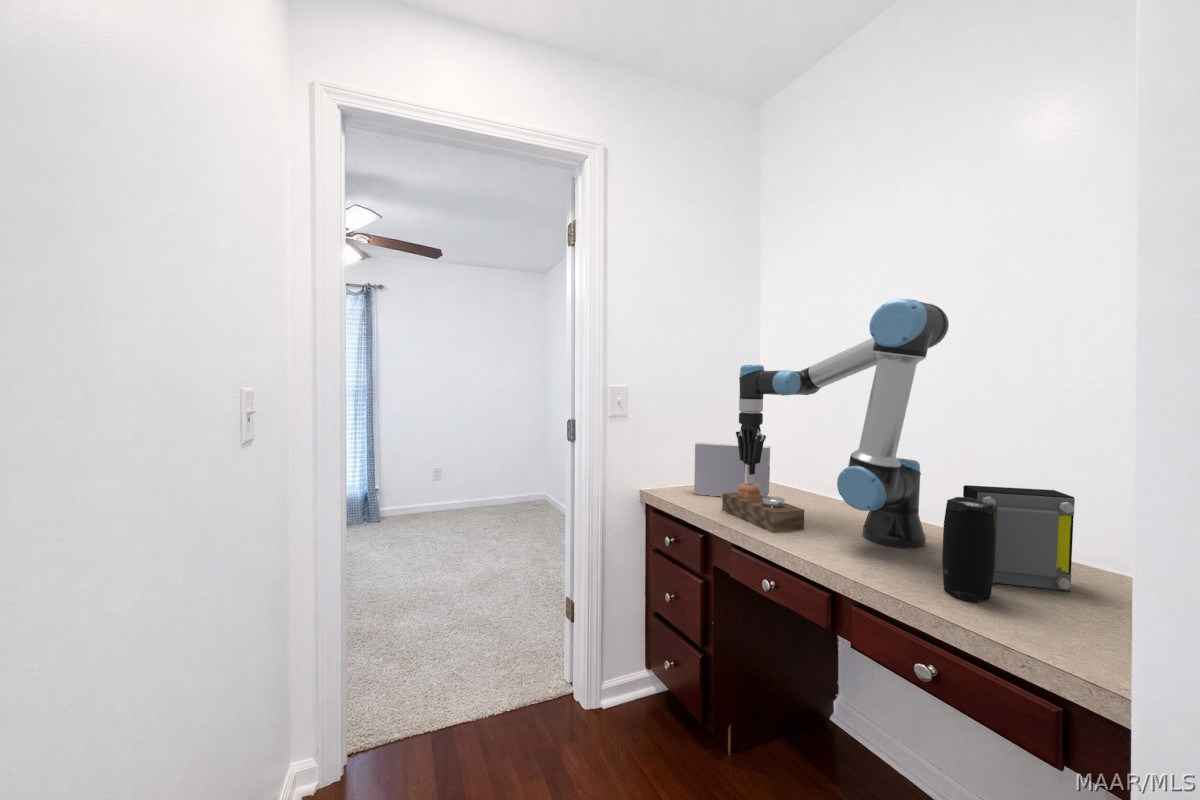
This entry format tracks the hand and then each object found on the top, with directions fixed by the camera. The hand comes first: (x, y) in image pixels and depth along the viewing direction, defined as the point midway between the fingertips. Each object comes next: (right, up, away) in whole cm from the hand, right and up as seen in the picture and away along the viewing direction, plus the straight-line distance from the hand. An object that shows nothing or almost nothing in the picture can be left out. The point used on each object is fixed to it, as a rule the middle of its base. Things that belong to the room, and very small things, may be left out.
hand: (749, 483), depth 162 cm
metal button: (+4, -9, -11) cm, 14 cm away
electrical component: (+43, -13, -52) cm, 69 cm away
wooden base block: (+2, -11, -5) cm, 12 cm away
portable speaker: (+27, -13, -60) cm, 67 cm away
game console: (+1, -10, +26) cm, 28 cm away
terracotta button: (0, -6, 0) cm, 6 cm away
